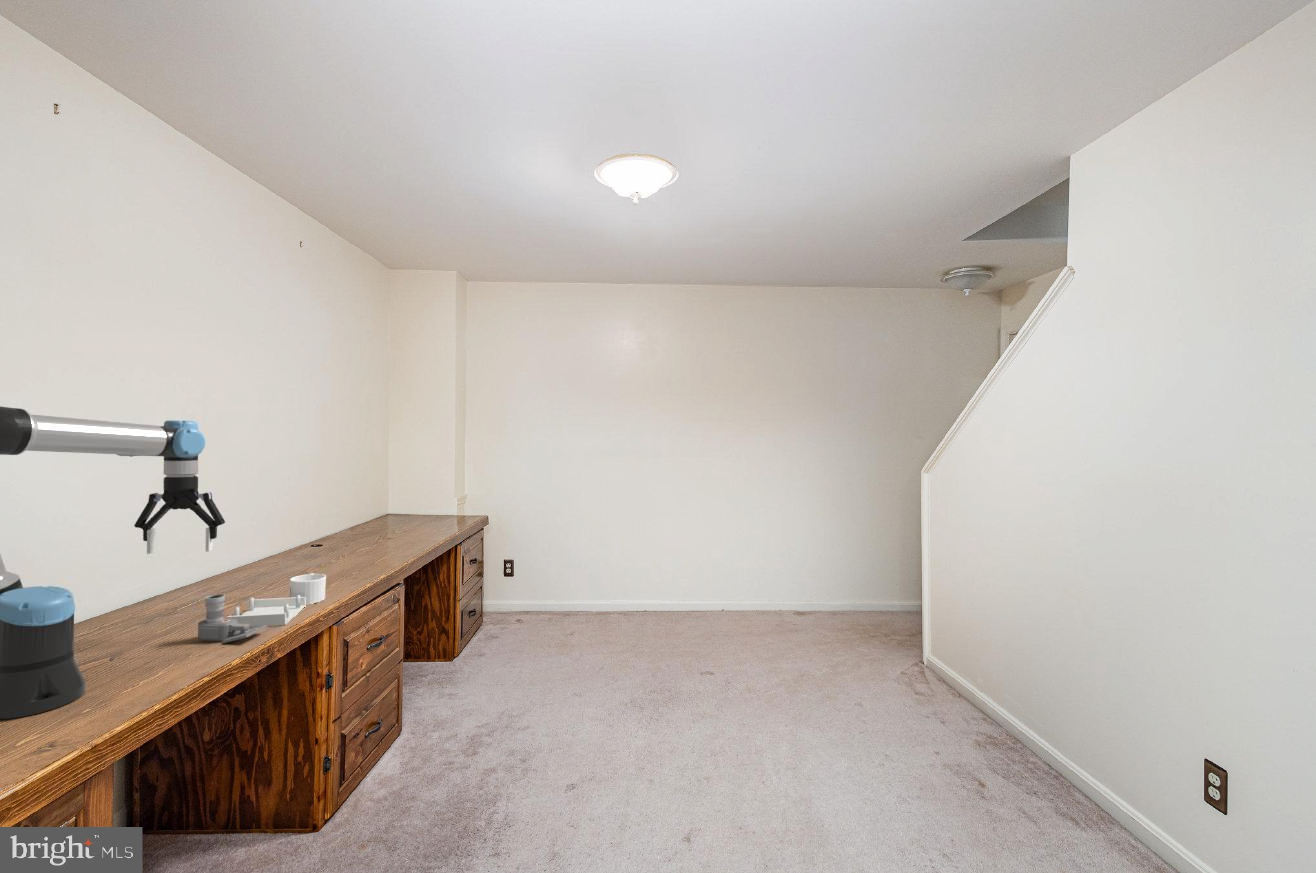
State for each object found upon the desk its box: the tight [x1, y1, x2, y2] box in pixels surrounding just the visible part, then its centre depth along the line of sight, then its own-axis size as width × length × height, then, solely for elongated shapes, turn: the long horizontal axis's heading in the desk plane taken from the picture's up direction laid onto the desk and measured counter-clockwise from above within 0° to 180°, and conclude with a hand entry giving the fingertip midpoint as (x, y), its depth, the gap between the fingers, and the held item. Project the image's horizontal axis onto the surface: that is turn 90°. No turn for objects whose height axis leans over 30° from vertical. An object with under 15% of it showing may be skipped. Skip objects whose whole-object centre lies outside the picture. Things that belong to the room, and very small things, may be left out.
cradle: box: [226, 595, 307, 628], centre depth 180 cm, size 18×15×5 cm
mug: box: [289, 572, 327, 606], centre depth 198 cm, size 13×10×8 cm
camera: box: [197, 593, 269, 644], centre depth 162 cm, size 9×12×15 cm
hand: (180, 551), depth 164 cm, fingers open, 13 cm apart
